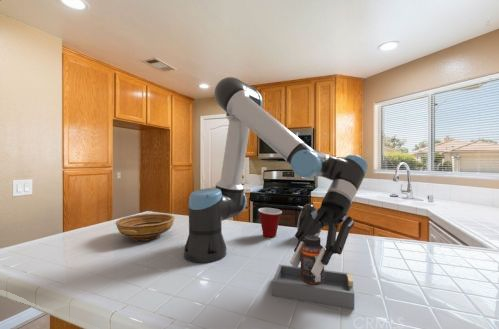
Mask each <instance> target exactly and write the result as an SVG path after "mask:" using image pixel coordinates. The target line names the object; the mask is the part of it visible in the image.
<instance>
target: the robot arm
mask: <svg viewBox="0 0 499 329" xmlns="http://www.w3.org/2000/svg"><path fill="white" fill-rule="evenodd" d="M213 93H214V94H213V96H214V99H215V102H216V104H217V105H218V106H219V107H220V108H221V109H223V111H224V112H226V114H225V115H226V116H225V117H226V119H227V120H228V128H227V134H226V142H225V147H224V152H223V153H224V155H223V160H222V167H221V173H220V174H221V175H220V180H218V181H217V182H216V183H215V187H208V188H200V189H197V190H194V191H192V192H191V193H190V195H189V198H188V204H187V205H188V236H187V239H186V241H185V242H186V243H185V245H184V249H183V258H184V259H185V260H186V261H189V262H192V263H203V264H205V263H212V262H217V261H219V260H222V259H223V258H225V257H226V255H227V246H226V242H225V239H224V236H223V233H222V232H223V231H222V230H223V229H222V224H223V223H222V221H225V220H228V219H231V218H236V217H237V216H238V215H239V216H240V214H242V213H243V212H244V211H245V208H246V207H247V204H248V203H247V202H248V200H247V195H246V194H245V186H244V185H243V184H242V180H243V173H244V167H245V161H246V155H247V150H248V149H247V148H248V141H249V137H250V136H249V135H250V130H251V131H252V133H254V134H255V135H257V137H258V138H259V139H261V140H262V141H263V142H264V143H266V145H268V147H269V148H271V149H272V150H273V152H275V153H277V154H278V155H279V156H280V157H281V158H282V159H284V160H285V161H286V162H287V163H288V164H289V165H290V168H291V170H292V172H293V173H294V174H295V175H296V176H298V177H300V178H307V179H309V178H310V179H311V178H315V177H317V176H318V177H321V178H325V179H327V180H330V181H332V182H331V183H330V185H329V187H328V189H327V191H326V193H325V195H324V197H323V198H322V200H321V205H320V207H319V208H318V209H316V210H317V211H312V210H311V209H309V210H308V213H307V216H306V218H305V219H304V221H303V223H302V224H301V226H300V228H299V229H298V230H297V231H296V232H295V234H294V237H295V238H296V239H297V241H298V242H297V244H296V245H295V247H294V250H293V251H294V253H293V256H291V257H292V258H291V260H290V261H289V263H290V265H291V266H293V267H294V268H296V269H297V267H299V265H300V264H301V246H302V245H303V244H304V243H305V236H309V235H312V236H314V235H315V234H316V233H317V232H318V231H319V230H320V229H321V230H322V229H323V228H324V227H328V228H327V236H326V243H325V245H324V247H323V248H322V249H321V251H320V253H319V255H318V257H317V260H316V262H315V264H314V266H313V268H312V270H311V272H312V273H313V274H314V276H315V277H317V278H319V275H320V273H321V271H322V269H323V267H324V268H325V266H327V265H328V264H329V262H330V260H331V258H332V256H333V255H334V254H337V255H342V253H343V250H344V248H345V245H346V243H347V239H348V237H349V233H350V231H351V229H352V228H353V227H354V225H355V221H354V220H353V218H352V217H351V216H347V214H349V210H350V208H351V206H352V203H353V202H354V200H355V197H356V195H357V194H358V191H359V188H360V186H361V185H362V182H363V180H364V178H365V176H366V173H367V171H368V163H367V161H366V160H365V159H364V158H363V156H360V155H357V154H349V155H346V156H345V157H344V158H340V157H336V156H334V155H331V154H328V153H325V152H322V151H319V150H318V149H317V150H316V149H313V148H312V147H311V146H309V145H308V144H307V143H305V142H304V141H303V140H302V139H301V138H300V137H298V136H297V135H296V134H294V133H293V132H292V131H291V130H290V129H288V128H287V127H286V126H284V124H282V123H281V122H280V121H278V120H277V118H275V117H274V116H273V115H271V114H270V113H269V112H267V111H266V110H265V109H264V108H263V104H264V103H263V102H264V101H263V97H262V95H261V93H260V91H258V90H257V88H256V87H254V86H251V85H249V84H248V83H246V82H243V81H242V80H240V79H239V78H236V77H234V76H233V77H232V76H229V77H225V78H222V79H221V80H220V81H219V82H218V83H217V84H216V85H215V88H214V92H213ZM316 216H317V217H316ZM341 223H342V224H341ZM339 224H341V225H340V229H339ZM338 229H339V230H338ZM337 232H338V234H337Z"/></svg>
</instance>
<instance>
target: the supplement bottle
mask: <svg viewBox="0 0 499 329" xmlns="http://www.w3.org/2000/svg"><path fill="white" fill-rule="evenodd" d="M322 248H324V246H323V245H322V244H321V237H320V236H319V237H318V236H312V235H309V236H305V243H304V244H303V245H302V246H301V261H300V267H301V280H302V281H303V282H304V283H306V284H309V285H320V284H322V283H323V282H324V270H325V266H324V267H323V269H322V271H321V273H320V275H319V278H317V277H315V276H314V274H313V273H312V272H311V270H312V268H313V266H314V264H315V262H316V260H317V257H318V255H319V253H320V251H321V249H322Z"/></svg>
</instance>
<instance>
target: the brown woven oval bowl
mask: <svg viewBox="0 0 499 329" xmlns="http://www.w3.org/2000/svg"><path fill="white" fill-rule="evenodd" d="M175 218H176V217H175V216H174V215H172V214H168V213H143V214H135V215H130V216H129V215H128V216H126V217H122V218H120V219H118V220H116V221H115V225H116V229H117V230H118V232H119V233H120V234H121V235H122V236H125V237H129V238H131V239H132V240H134V239H135V240H134V241H137V240H146V241H151V240H150V239H152V240H155V239H157V237H158V236H159V235H160V236H161V235H162V234H164V233H165V232H167V231H169V230H170V229H171V228H172V226H173V225H174V220H175ZM160 236H159V237H160ZM159 237H158V238H159ZM154 238H155V239H154Z"/></svg>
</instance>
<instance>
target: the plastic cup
mask: <svg viewBox="0 0 499 329" xmlns="http://www.w3.org/2000/svg"><path fill="white" fill-rule="evenodd" d="M282 213H283V211H282V210H280V209H278V208H272V207H260V208H258V214H259V218H260V224H261V230H262V235H263V237H264V238H267V239H272V238H273V239H274V238H276V237H277V234H278V226H279V222H280V217H281V214H282Z"/></svg>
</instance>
